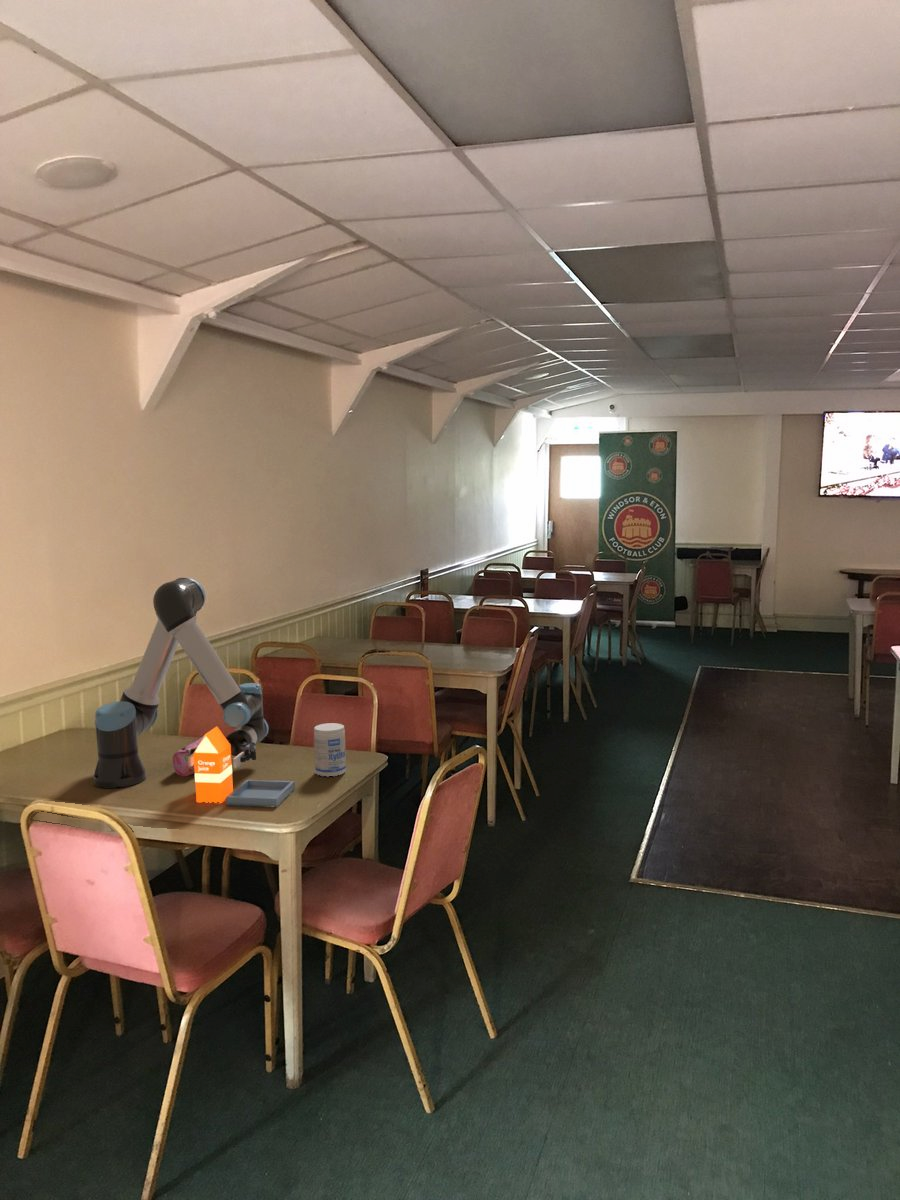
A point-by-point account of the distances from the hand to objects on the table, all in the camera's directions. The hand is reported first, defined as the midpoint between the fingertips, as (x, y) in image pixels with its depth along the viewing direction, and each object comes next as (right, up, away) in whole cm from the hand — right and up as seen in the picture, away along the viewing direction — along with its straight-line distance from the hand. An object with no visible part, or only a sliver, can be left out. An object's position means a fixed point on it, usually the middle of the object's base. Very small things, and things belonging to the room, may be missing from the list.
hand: (211, 762), depth 263 cm
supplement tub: (+31, -7, +23) cm, 39 cm away
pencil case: (-12, -7, +33) cm, 36 cm away
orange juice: (0, -11, +3) cm, 11 cm away
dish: (+14, -10, +2) cm, 17 cm away
